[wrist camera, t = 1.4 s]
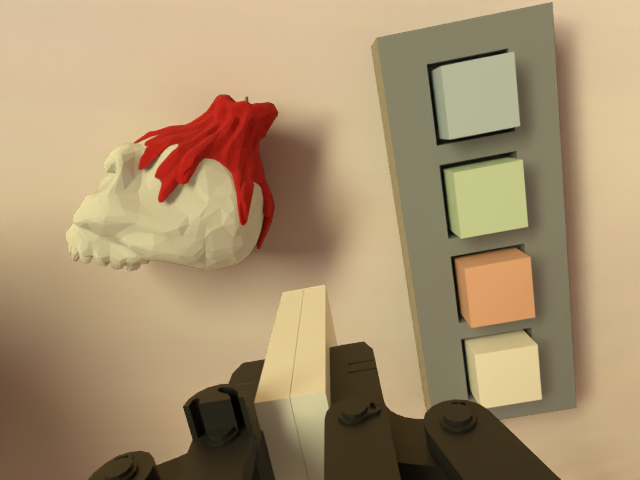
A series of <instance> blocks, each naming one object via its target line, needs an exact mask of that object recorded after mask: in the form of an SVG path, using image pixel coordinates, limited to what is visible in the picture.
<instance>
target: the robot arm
mask: <svg viewBox="0 0 640 480" xmlns="http://www.w3.org/2000/svg"><path fill="white" fill-rule="evenodd" d="M183 408H184V412H185V415H186V418H187V422H188V425H189V428H190V432H191V435H192V439H193V441H192V443H191V446H190V448H189V450H188V453H186V454H184V455H182V456H180V457H178V458H175V459H172V460H170V461H167V462H164V463H162V464H159V465H156V464H155V461H154V458H153V457H152V456H151V455H150V453H148V452H143V451H136V452H129V453H125V454H123V455H120V456H117V457H115V458H114V459H112V460H110V461H109V462H107V463H105V464H104V465H103V466H102V467H100V468H99V469H98V470H97V471H96V472H95V473H94V474H93V475H92V476H91V477H90V478H89V479H88V480H561V479H560V478H559V477H557V476H556V475H555V474H554V473H553V472H552V471H551V470H550V469H549V468H548V467H547V466H546V465H545V464H544V463H543V462H542V461H541V460H540V459H539V458H538V457H537V456H536V455H535V454H534V453H533V452H532V451H531V450H530V449H529V448H527V447H526V446H525V445H524V444H523V443H522V442H521V441H520V440H519V439H518V438H517V437H516V436H515V435H514V434H513V433H512V432H511V431H510V430H509V429H508V428H507V427H506V426H505V425H504V424H503V423H502V422H501V421H500V420H499V419H497V418H496V417H495V416H494V415H493V414H492V413H491V412H490V411H489V410H488V409H486V408H485V407H483V406H482V405H480V404H479V403H475V402H472V401H469V400H457V399H453V400H448V401H442V402H440V403H438V404H436V405H434V406H432V407H431V408H430V409H429V410H428V411H427V412H426V413H425V417H424V419H413V418H406V417H403V416H400V415H397V414H395V413H394V412H392V411H390V410H389V409H388V408H387V406H386V405H385V403H384V400H383V395H382V390H381V386H380V381H379V376H378V371H377V367H376V362H375V357H374V353H373V349H372V348H371V347H370V346H368V345H367V344H366V343H365V342H358V343H352V344H346V345H340V346H337V341H336V336H335V331H334V326H333V321H332V316H331V311H330V306H329V300H328V295H327V290H326V285H320V286H315V287H309V288H303V289H298V290H292V291H286V292H282V296H281V300H280V304H279V308H278V312H277V316H276V320H275V323H274V327H273V331H272V335H271V339H270V343H269V347H268V351H267V354H266V358H265V359H264V360H258V361H252V362H246V363H243V364H242V365H241V366H240V367H239V368H238V369H237V370H236V371H235V372H234V373H233V374H232V376H231V379H230V382H229V384H220V385H216V386H212V387H209V388H207V389H204V390H202V391H200V392H198V393H197V394H195V395H194V396H193V397H191V398H190V399H189V400H188V401H187V402H186V404H185V405H184V406H183Z"/></svg>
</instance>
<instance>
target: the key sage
mask: <svg viewBox="0 0 640 480" xmlns="http://www.w3.org/2000/svg"><path fill="white" fill-rule="evenodd" d="M443 175H444V183H445V191H446V199H447V207H448V215H449V224H450V230H451V231H452V232H453V233H455V234H456V235H457V236H458V237H460V238H461V239H463V238H468V237H474V236H479V235H485V234H490V233H496V232H502V231H507V230H513V229H518V228H524V227H528V218H527V206H526V193H525V181H524V168H523V160H521V159H515V158H509V157H504V158H499V159H494V160H488V161H483V162H478V163H472V164H467V165H462V166H456V167H451V168H446V169H443Z"/></svg>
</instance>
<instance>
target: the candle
mask: <svg viewBox="0 0 640 480" xmlns="http://www.w3.org/2000/svg"><path fill="white" fill-rule="evenodd" d="M277 116H278V111H277V109H276V107H275V106H274V104H272V103H269V102H266V103H255V104H250V103H249V102H248V97H245V101H241V102H236V101H234V100H233V99H232V98H231V97H230V96H229V95H219V96H217V97H216V98H215V100H214V101H213V103H212V104H211V106H210V107H209V109H208V110H207V111H206V112H205V113H204V114H203V115H201V116H200V117H198V118H197V119H195V120H194V121H192V122H191V123H188V124H186V125H178V126H169V127H166V128H163V129H160V130H157V131H151V132H148V133H147V134H145V135H144V136H143V137H141V138H140V139H138V140H137V141H136V142H134V143H127V144H124V145H121V146H119V147H117V148H116V149H115V150H113V151H112V152H111V153H110V155H109V156H108V158H107V159H106V161H105V162H104V165H103V167H104V170H106V171H107V172H110V173H113V174H111V175H107V176H105V177H104V178H103V179H102V180H101V181H100V186H99V189H98V190H96V191H95V192H94V193H93V194H90V195H87V196H86V197H85V199H84V201H83V203H82V205H81V207H80V208H79V209H78V211H77V212H76V213H75V214H74V216H73V222H74V223H73V224H72V225H71V227H70V228H69V229H68V231H67V232H66V241H67V242H68V243H69V244H68V253H69V254H71V257H72V260H73V261H77V260H78V258H79V257H80V261H82V262H83V263H90V261H91V258H92V257H94V258H95V259H96V262H97V265H100V266H107V265H108V264H109V262H111V266H112V268H114V269H117V270H118V269H121V268H123V266H124V265H126V266H127V270H128V271H133V270H137V269H138V268H139V267H140V265H141V264H147V263H149V261H150V260H156V261H165V262H171V263H177V264H182V265H186V266H191V267H195V268H199V269H204V270H218V269H221V268H224V267H228V266H233V265H236V264H238V263H240V262H242V261H243V260H244V259H245V258H246V257H247V256H249V254H250V253H251V251H252V250H253V248H254V246H255V245H256V243H257V249H260V247H261V245H262V243H263V241H264V239H265V237H266V235H267V232H268V230H269V227H270V224H271V222H272V217H273V213H274V208H275V207H274V200H273V197H272V194H271V192H270V190H269V187H268V185H267V183H266V180H265V176H264V171H263V167H262V163H261V159H260V154H259V143H260V139H262V138H264V137H265V136H266V134H267V132H268V130H269V128H270V127H271V125H272V123H273V121H274V120H275V118H276V117H277Z"/></svg>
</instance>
